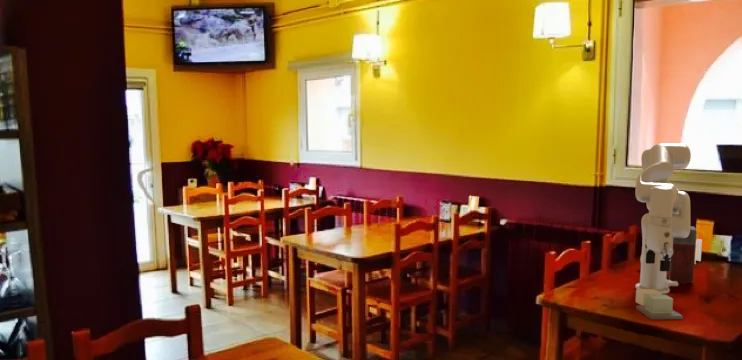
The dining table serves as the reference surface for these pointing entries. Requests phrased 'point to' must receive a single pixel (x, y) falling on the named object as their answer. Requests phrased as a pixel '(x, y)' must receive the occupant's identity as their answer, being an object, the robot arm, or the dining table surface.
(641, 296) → the cream brick
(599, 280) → the dining table surface
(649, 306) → the sage brick
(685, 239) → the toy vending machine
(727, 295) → the dining table surface
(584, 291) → the dining table surface
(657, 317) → the baseplate
